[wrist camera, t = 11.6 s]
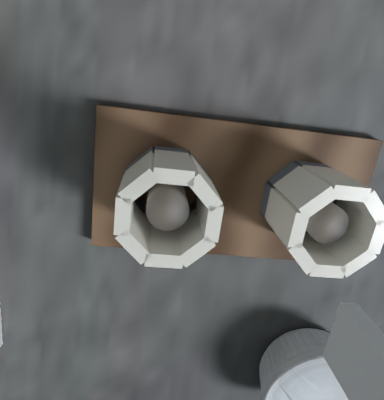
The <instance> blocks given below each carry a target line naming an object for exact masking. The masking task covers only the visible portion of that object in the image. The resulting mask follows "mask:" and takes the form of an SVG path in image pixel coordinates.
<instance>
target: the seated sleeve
mask: <svg viewBox="0 0 384 400" xmlns="http://www.w3.org/2000/svg"><path fill="white" fill-rule="evenodd" d="M268 181H269V183H267V182H266V183H265V188H264V193H263V198H262V202H261V207H260V211H261V214H262V216H263V217H264V218H265V220H266V221H267V222H268V224H269V225H270V227H271V228H272V229H273V231H274V232H275V233H276V235H277V236H278V237H279V239H280V240H281V241H282V243H283V244H284V245H285V247H286V248H287V249H288V251H289V252H290V253H291V255H292V256H293V257H294V259H295V260H296V261H297V263H298V264H299V265H300V267H301V268H302V269H303V271H304V272H305V273H306V274H308V275H309V276H314V277H329V278H343V277H344V275H345V276H346V277H348V276H349V275H351V274H352V273H354V272H355V271H357V270H358V269H360V268H362V267H363V266H365V265H366V264H368V263H369V262H371V261H372V260H374V259H375V258H377V256H376V255H375V254H380V251H381V248H382V246H383V243H384V206H383V204H382V202H381V201H380V199H379V197H378V195H377V194H376V192H375V190H373V189H371V188H369V187H368V186H366V185H364V184H362V183H360V182H358V181H356V180H354V179H352V178H351V177H349V176H347V175H345V174H343V173H341V172H339V171H337V170H335V169H333V168H332V167H330V166H328V165H326V164H323V163H315V162H306V161H297V160H296V161H295V163H294V162H293V161H292V162H291V163H289V164H288V165H287V166H285V167H284V168H283V169H281V170H280V171H279V172H277V173H276V174H275V175H273V176H272V177H270V178H269V179H268ZM331 202H333V203H334V204H336V205H337V206H339V207H340V208H341V209H343V210H344V211H345V212H346V213H347V215H348V218H349V225H348V229H347V231H346V233H345V234H344V235H343V236H342V237H341V238H340V239H339V240H337V241H335V242H332V243H327V244H324V243H319V242H317V241H316V240H314V239H313V238H312V237H311V236H310V234H309V233H308V232H307V231H306V228H307V224H308V220H309V217H311V216H312V215H314V214H315V213H316V212H318V211H319V210H321V209H322V208H324V207H325V206H326V205H328V204H329V203H331Z"/></svg>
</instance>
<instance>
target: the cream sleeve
mask: <svg viewBox="0 0 384 400" xmlns="http://www.w3.org/2000/svg"><path fill="white" fill-rule="evenodd" d="M156 183H160V184H171V185H181V186H189V187H190V188H191V189H192V190H193V191H194V193H195V200H194V203H192V204H191V205H190V206H189V216H188V219H187V220H186V222H185V223H184V224H183V225H182V226H181V227H179V228H178V229H175V230H172V231H163V230H160V229H157V228H155V227H154V226H153V225H152V224H151V223H150V222H149V220H148V218H147V215H146V208H145V206H144V205H143V204H142V203H141V202H140V201H139V200H138V199H137V198H138V197H139V196H141V195H142V194H143V193H145V192H146V191H147V190H148V189H150V188H151V187H152V186H154V185H155V184H156ZM223 211H224V206H223V202H222V200H221V198H220V196H219V194H218V192H217V190H216V188H215V186H214V184H213V182H212V180H211V178H210V176H209V174H208V173H207V172H206V171H205V169H204V168H203V167H202V166H201V164H200V163H199V162H198V161H197V159H196V158H195V157H194V155H193V154H192V153H191V152H190V151H189V152H188V151H187V149H181V148H172V147H163V146H155V150H154V149H153V147H151V148H149V149H148V150H147V151H146V152H144V153H143V154H142V155H141V156H139V157H138V158H137V159H136V160H134V161H133V162H132V163H131V164H129V165H128V166H127V168H126V170H125V173H124V175H123V178H122V181H121V184H120V187H119V189H118V192H117V195H116V199H115V216H114V233H113V235H116V236H115V239H116V240H117V241H118V242H119V243H120V244H121V245H122V246H123V247H124V248H125V249H126V250H127V251H128V252H129V253H130V254H131V255H132V256H133V257H134V258H135V259H136V260H137V261H138V262H139V263H140V264H143V263H144V262H145V266H146V267H162V268H177V269H182V266H183V265H184V266H185V267H188V266H189V265H190V264H192V263H193V262H195V261H196V260H197V259H199V258H200V257H201V256H203V255H204V254H206V253H207V252H208V251H210V250H211V249H213V248H214V247H215V246H216V245H215V243H218V240H219V234H220V228H221V223H222V217H223Z"/></svg>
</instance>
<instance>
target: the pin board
mask: <svg viewBox="0 0 384 400" xmlns="http://www.w3.org/2000/svg"><path fill="white" fill-rule="evenodd" d="M382 143H383V141H381V140H378V139H372V138H364V137H356V136H348V135H340V134H332V133H324V132H316V131H308V130H300V129H292V128H284V127H276V126H268V125H260V124H252V123H244V122H236V121H228V120H220V119H212V118H204V117H196V116H188V115H180V114H172V113H164V112H156V111H148V110H140V109H132V108H124V107H116V106H108V105H100V104H98V105H96V127H95V154H94V182H93V209H92V236H91V245H96V246H109V247H123V246H122V245H121V244H120V243H119V242H118V241H117V240H116V239H115V236H116V235H113V233H114V216H115V199H116V195H117V192H118V189H119V187H120V184H121V181H122V178H123V175H124V173H125V170H126V168H127V166H128V165H129V164H131V163H132V162H133V161H134V160H136V159H137V158H138V157H139V156H141V155H142V154H143V153H144V152H146V151H147V150H148V149H149V148H151V147H153V149H154V150H155V146H163V147H172V148H181V149H187V151H188V152H189V151H190V152H191V153H192V154H193V155H194V157H195V158H196V159H197V161H198V162H199V163H200V164H201V166H202V167H203V168H204V169H205V171H206V172H207V173H208V174H209V176H210V178H211V180H212V182H213V184H214V186H215V188H216V190H217V192H218V194H219V196H220V198H221V200H222V202H223V206H224V211H223V217H222V223H221V228H220V234H219V240H218V243H215V245H216V246H215V247H214V248H213V249H211V250H210V251H208V252H207V253H206V254H219V255H233V256H247V257H260V258H274V259H288V260H295V259H294V257H293V256H292V255H291V253H290V252H289V251H288V249H287V248H286V247H285V245H284V244H283V243H282V241H281V240H280V239H279V237H278V236H277V235H276V233H275V232H274V231H273V229H272V228H271V227H270V225H269V224H268V222H267V221H266V220H265V218H264V217H263V216H262V214H261V211H260V207H261V202H262V198H263V193H264V188H265V183H266V182H267V183H269V181H268V179H269V178H270V177H272V176H273V175H275V174H276V173H277V172H279V171H280V170H281V169H283V168H284V167H285V166H287V165H288V164H289V163H291V162H292V161H293V162H294V163H295V161H296V160H297V161H306V162H315V163H323V164H326V165H328V166H330V167H332V168H333V169H335V170H337V171H339V172H341V173H343V174H345V175H347V176H349V177H351V178H352V179H354V180H356V181H358V182H360V183H362V184H364V185H366V186H368V187H369V184H370V181H371V178H372V175H373V171H374V168H375V165H376V162H377V159H378V156H379V152H380V149H381V146H382ZM137 199H138V200H139V201H140V202H141V203H142V204H143V205H144V206H145V208H146V215H147V218H148V220H149V222H150V223H151V224H152V225H153V226H154V227H155V228H157V229H160V230H163V231H172V230H175V229H178V228H179V227H181V226H182V225H183V224H184V223H185V222H186V220H187V219H188V216H189V206H190V205H191V204H192V203H194V200H195V193H194V191H193V190H192V189H191V188H190V187H189V186H181V185H171V184H160V183H156V184H155V185H154V186H152V187H151V188H150V189H148V190H147V191H146V192H145V193H143V194H142V195H141V196H139V197H138V198H137ZM348 225H349V218H348V215H347V213H346V212H345V211H344V210H343V209H341V208H340V207H339V206H337V205H336V204H334V203H333V202H331V203H329V204H328V205H326V206H325V207H324V208H322V209H321V210H319V211H318V212H316V213H315V214H314V215H312V216H311V217H309V220H308V224H307V228H306V231H307V232H308V233H309V234H310V236H311V237H312V238H313V239H314V240H316V241H317V242H319V243H324V244H327V243H332V242H335V241H337V240H339V239H340V238H341V237H342V236H343V235H344V234H345V233H346V231H347V229H348ZM123 248H124V247H123Z"/></svg>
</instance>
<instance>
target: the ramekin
mask: <svg viewBox="0 0 384 400" xmlns="http://www.w3.org/2000/svg"><path fill="white" fill-rule="evenodd" d="M329 334H330V333H329V332H326V331H324V330H319V329H312V328H301V329H296V330H292V331H289V332H287V333H285V334H283V335H281V336H279V337H278V338H277V339H275V340H274V341H273V342H272V343H271V344H270V345H269V346H268V348H267V349H266V351H265V352H264V354H263V356H262V359H261V361H260V366H259V376H260V385H261V392H262V393H261V400H349V399H348V398H347V396H346V394H345V393H344V391H343V389H342V387H341V386H340V384H339V382H338V381H337V379H336V377H335V376H334V374H333V372H332V370H331V369H330V367H329V365H328V364H327V362H326V360H325V359H324V357H323V353H324V350H325V347H326V344H327V341H328V337H329Z"/></svg>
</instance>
